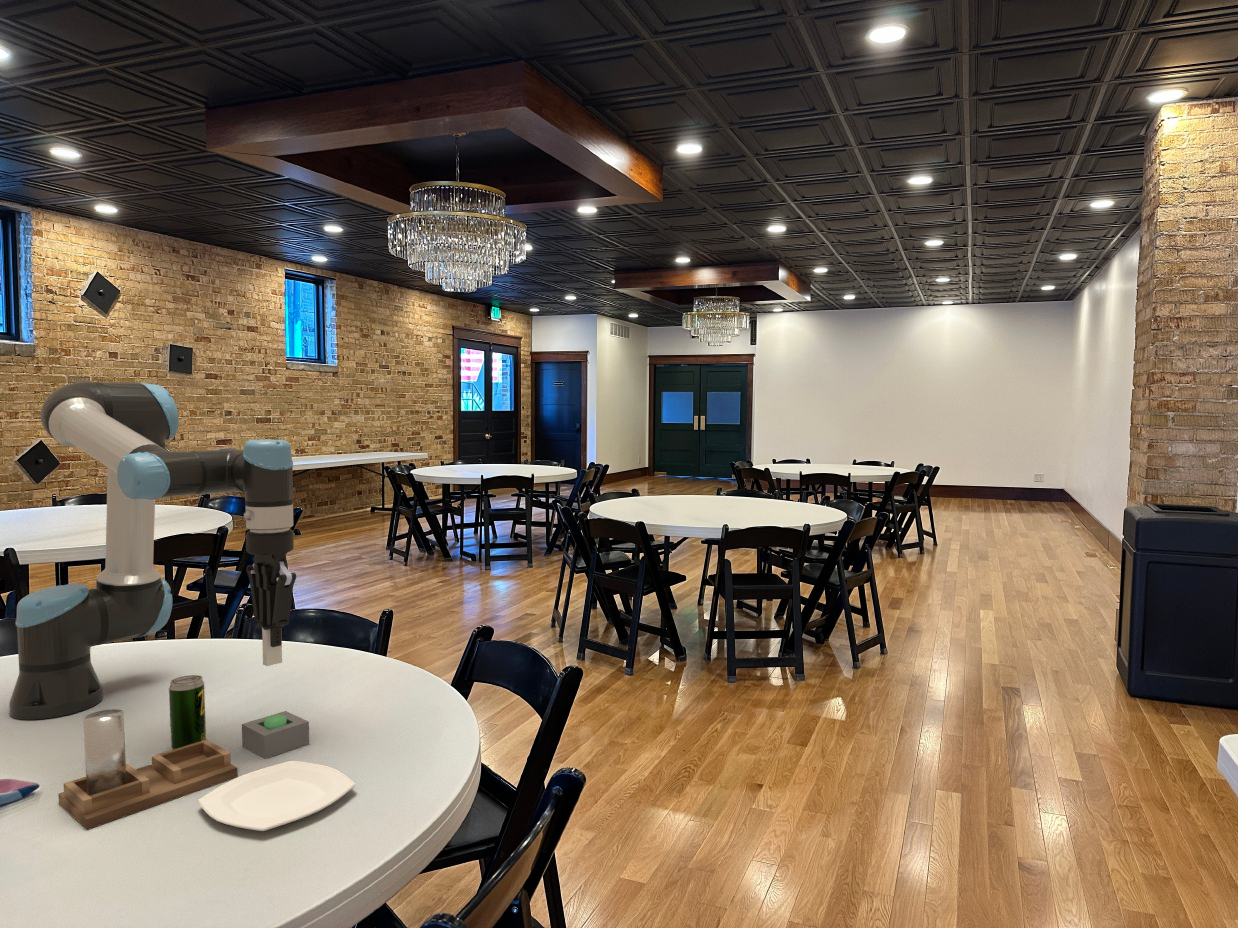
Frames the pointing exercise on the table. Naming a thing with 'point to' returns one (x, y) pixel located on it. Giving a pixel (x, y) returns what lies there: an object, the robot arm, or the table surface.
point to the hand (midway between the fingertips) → (272, 663)
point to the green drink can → (187, 711)
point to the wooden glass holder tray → (150, 784)
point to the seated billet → (104, 750)
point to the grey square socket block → (275, 736)
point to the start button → (275, 721)
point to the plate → (276, 795)
